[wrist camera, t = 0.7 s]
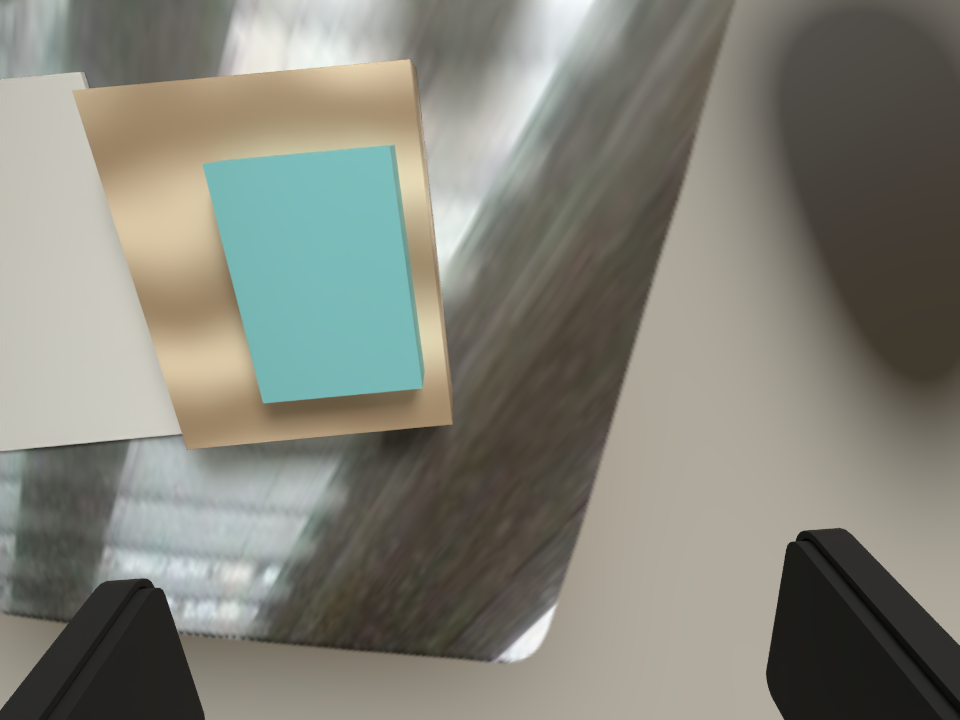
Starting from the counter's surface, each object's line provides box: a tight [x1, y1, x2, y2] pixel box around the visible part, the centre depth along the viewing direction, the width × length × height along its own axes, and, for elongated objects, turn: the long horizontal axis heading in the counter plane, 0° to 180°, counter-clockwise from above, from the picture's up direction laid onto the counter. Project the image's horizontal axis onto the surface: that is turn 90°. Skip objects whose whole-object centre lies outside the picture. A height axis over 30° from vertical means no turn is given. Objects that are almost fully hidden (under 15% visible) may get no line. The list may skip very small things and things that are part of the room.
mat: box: [0, 72, 182, 451], centre depth 29 cm, size 18×11×1 cm, turn 5°
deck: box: [72, 59, 453, 450], centre depth 27 cm, size 16×13×4 cm
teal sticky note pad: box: [202, 144, 425, 403], centre depth 25 cm, size 10×7×2 cm
